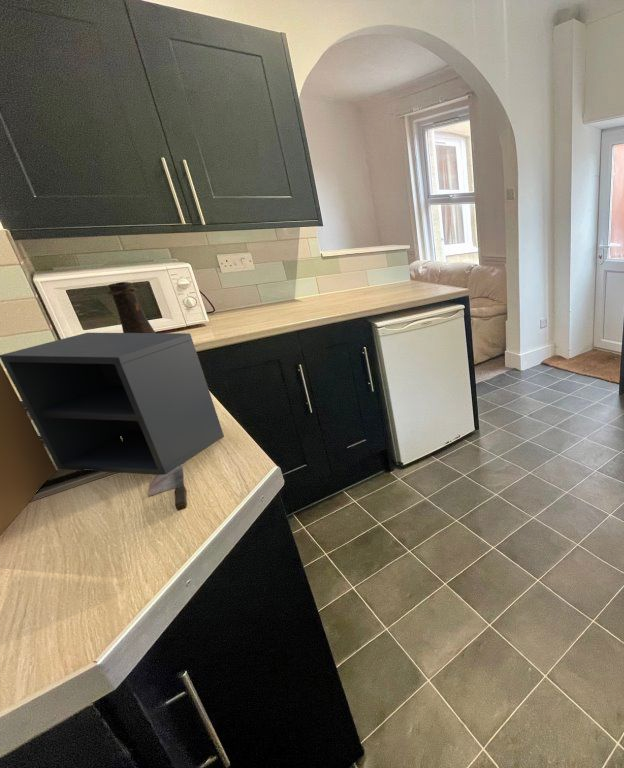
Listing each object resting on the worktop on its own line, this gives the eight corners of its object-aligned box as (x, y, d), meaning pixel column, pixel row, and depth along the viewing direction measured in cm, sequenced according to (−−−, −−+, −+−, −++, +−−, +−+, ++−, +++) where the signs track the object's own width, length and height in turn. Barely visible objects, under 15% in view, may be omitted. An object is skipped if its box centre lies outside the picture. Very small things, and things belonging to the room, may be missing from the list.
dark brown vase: (213, 378, 120) (181, 278, 109) (141, 402, 105) (95, 290, 95) (176, 370, 127) (143, 276, 117) (104, 392, 112) (58, 286, 102)
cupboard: (166, 475, 75) (118, 357, 66) (58, 469, 78) (-2, 355, 69) (224, 436, 88) (190, 333, 79) (130, 432, 90) (87, 332, 82)
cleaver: (149, 471, 75) (183, 462, 78) (151, 476, 76) (185, 467, 78) (145, 516, 63) (186, 502, 66) (148, 521, 64) (188, 508, 66)
